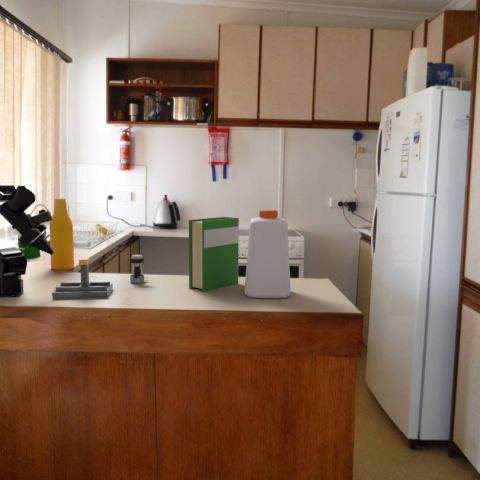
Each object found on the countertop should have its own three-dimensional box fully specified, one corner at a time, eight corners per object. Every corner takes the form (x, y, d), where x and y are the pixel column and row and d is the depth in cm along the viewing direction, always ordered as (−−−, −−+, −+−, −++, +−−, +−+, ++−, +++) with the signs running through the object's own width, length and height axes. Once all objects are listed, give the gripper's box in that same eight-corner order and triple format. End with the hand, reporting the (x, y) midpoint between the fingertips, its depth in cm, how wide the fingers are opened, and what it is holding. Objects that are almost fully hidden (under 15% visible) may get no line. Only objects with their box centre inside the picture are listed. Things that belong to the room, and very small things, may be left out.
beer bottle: (64, 270, 205) (62, 199, 201) (46, 269, 208) (43, 198, 204) (79, 266, 213) (76, 198, 210) (60, 265, 216) (58, 197, 212)
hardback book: (204, 291, 171) (204, 221, 168) (189, 288, 175) (188, 219, 172) (238, 283, 184) (238, 218, 181) (223, 280, 189) (223, 216, 186)
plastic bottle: (245, 288, 177) (245, 208, 173) (288, 288, 176) (290, 208, 172) (244, 298, 162) (244, 211, 158) (291, 299, 161) (293, 212, 157)
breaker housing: (52, 299, 159) (52, 289, 159) (61, 290, 171) (61, 281, 171) (107, 298, 161) (107, 288, 161) (112, 289, 173) (112, 280, 173)
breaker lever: (79, 288, 163) (78, 260, 162) (82, 285, 168) (81, 257, 167) (88, 288, 164) (87, 259, 162) (91, 285, 168) (90, 257, 167)
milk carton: (15, 257, 236) (13, 214, 233) (32, 254, 244) (30, 213, 241) (26, 259, 231) (24, 215, 229) (43, 256, 239) (42, 214, 236)
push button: (146, 280, 188) (146, 253, 187) (149, 283, 183) (149, 255, 182) (128, 281, 186) (128, 254, 185) (131, 284, 181) (130, 256, 180)
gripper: (32, 203, 152) (69, 241, 156) (41, 199, 170) (74, 233, 174) (3, 227, 151) (41, 265, 155) (15, 221, 169) (49, 255, 173)
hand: (52, 253), depth 164 cm, fingers closed
